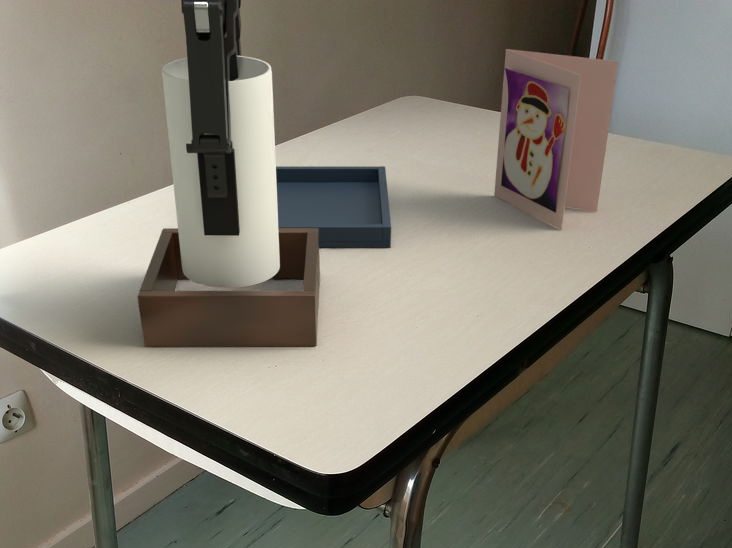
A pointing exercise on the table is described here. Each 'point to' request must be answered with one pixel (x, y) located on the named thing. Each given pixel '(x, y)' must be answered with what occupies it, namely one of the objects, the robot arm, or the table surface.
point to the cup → (253, 175)
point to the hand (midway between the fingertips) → (227, 212)
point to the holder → (232, 301)
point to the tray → (336, 204)
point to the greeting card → (553, 132)
